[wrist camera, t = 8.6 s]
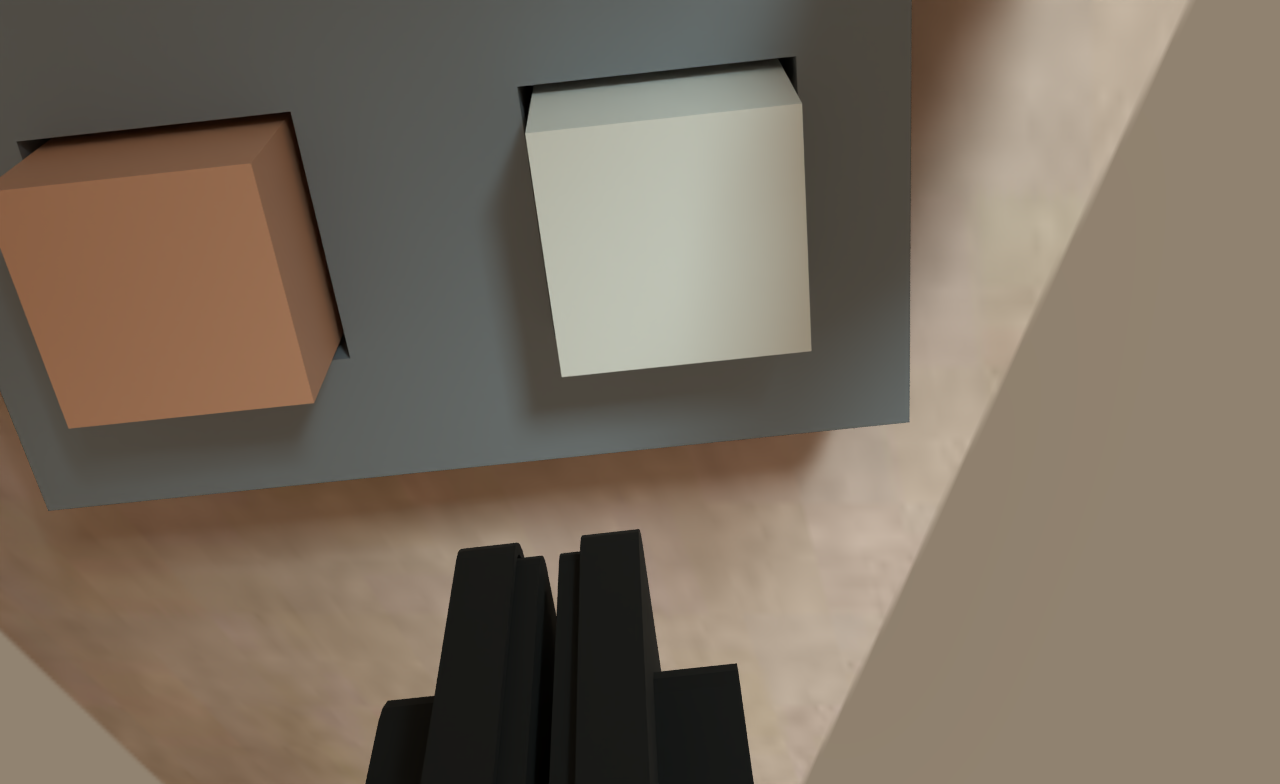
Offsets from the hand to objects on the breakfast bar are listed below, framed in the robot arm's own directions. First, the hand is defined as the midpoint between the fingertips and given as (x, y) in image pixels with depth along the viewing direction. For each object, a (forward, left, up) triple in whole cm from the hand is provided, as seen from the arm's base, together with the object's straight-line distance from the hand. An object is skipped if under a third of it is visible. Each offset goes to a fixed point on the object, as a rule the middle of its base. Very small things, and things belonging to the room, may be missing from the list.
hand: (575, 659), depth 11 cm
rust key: (+3, -10, -22) cm, 24 cm away
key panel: (+3, -4, -25) cm, 25 cm away
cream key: (+3, +2, -22) cm, 22 cm away
